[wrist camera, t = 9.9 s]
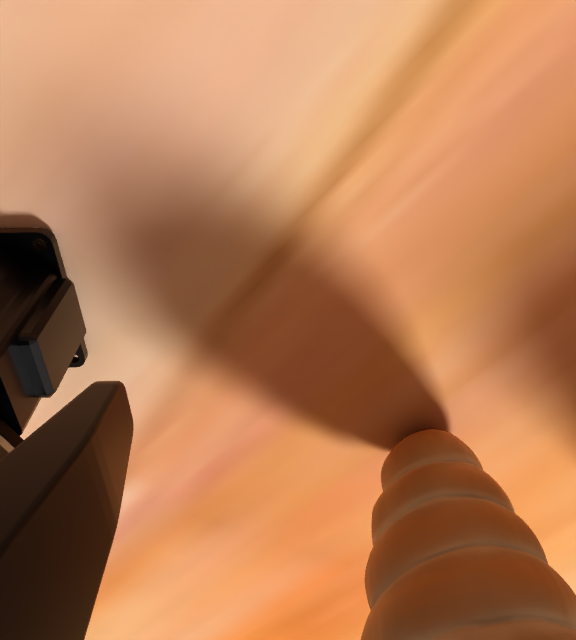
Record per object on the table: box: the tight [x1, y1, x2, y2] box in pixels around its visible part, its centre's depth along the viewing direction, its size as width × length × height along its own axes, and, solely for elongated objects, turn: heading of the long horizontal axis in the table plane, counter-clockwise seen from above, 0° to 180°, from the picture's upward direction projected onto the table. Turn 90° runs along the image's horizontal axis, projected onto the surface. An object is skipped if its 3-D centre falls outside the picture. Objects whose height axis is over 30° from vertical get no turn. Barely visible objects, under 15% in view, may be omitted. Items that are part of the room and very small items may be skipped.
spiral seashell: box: [361, 429, 576, 640], centre depth 20 cm, size 9×8×18 cm
